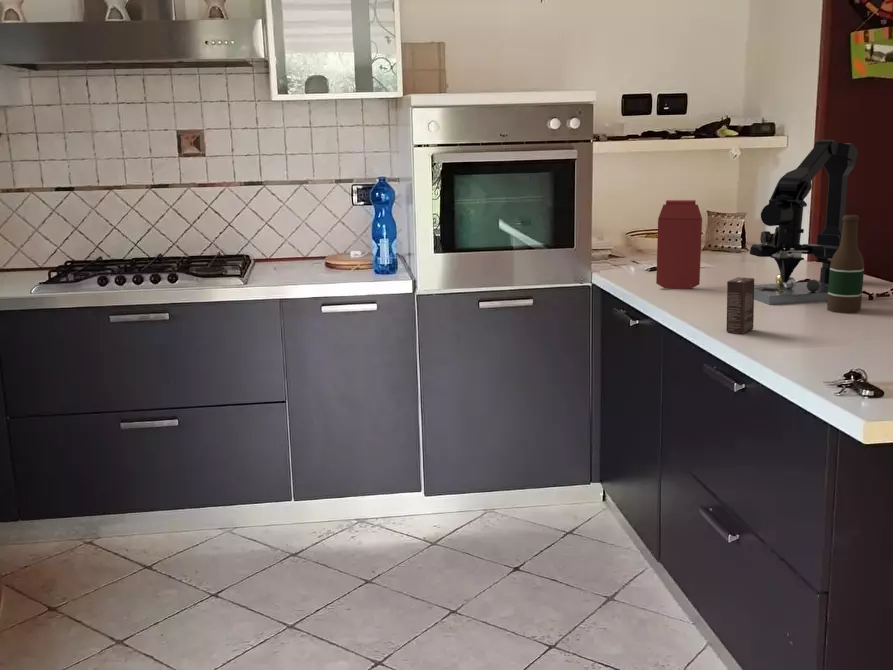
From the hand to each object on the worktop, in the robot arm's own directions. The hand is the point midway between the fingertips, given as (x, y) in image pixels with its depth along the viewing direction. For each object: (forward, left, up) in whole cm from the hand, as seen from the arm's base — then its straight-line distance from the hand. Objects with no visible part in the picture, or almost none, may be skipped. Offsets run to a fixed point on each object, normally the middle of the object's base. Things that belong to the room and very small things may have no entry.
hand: (784, 282), depth 242 cm
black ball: (-5, +5, 0) cm, 7 cm away
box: (+29, +33, -5) cm, 44 cm away
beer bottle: (-5, +20, -5) cm, 21 cm away
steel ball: (-2, -1, 0) cm, 2 cm away
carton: (+20, -23, -5) cm, 31 cm away
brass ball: (-2, -6, 0) cm, 6 cm away
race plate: (-3, 0, -4) cm, 5 cm away
